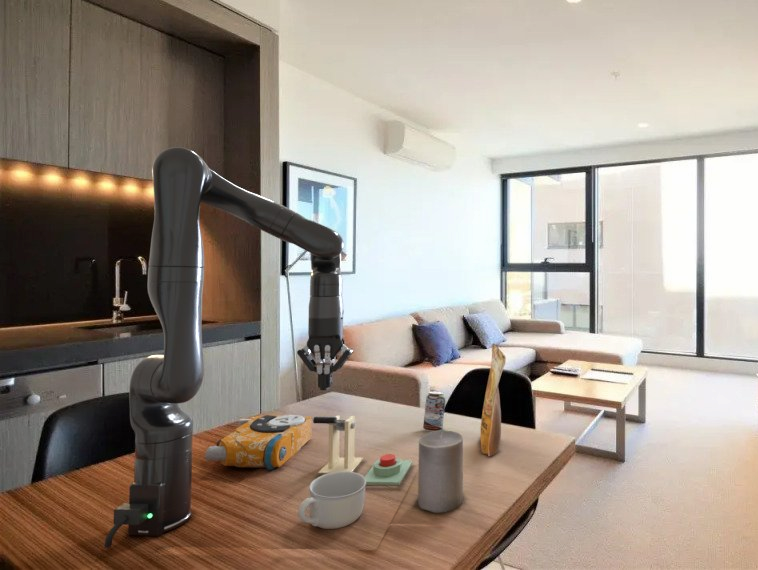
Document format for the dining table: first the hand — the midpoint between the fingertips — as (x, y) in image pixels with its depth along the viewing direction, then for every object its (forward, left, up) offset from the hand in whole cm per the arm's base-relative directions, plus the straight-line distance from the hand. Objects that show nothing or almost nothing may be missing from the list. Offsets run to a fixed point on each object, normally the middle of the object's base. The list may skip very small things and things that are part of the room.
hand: (325, 389), depth 106 cm
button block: (+6, -13, -23) cm, 27 cm away
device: (+20, +26, -23) cm, 40 cm away
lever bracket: (+10, 0, -23) cm, 25 cm away
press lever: (+5, 0, -11) cm, 12 cm away
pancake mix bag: (+27, -37, -23) cm, 51 cm away
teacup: (-15, -8, -23) cm, 29 cm away
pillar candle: (-5, -28, -23) cm, 37 cm away
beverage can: (+38, -18, -23) cm, 48 cm away
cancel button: (+6, -13, -20) cm, 24 cm away
